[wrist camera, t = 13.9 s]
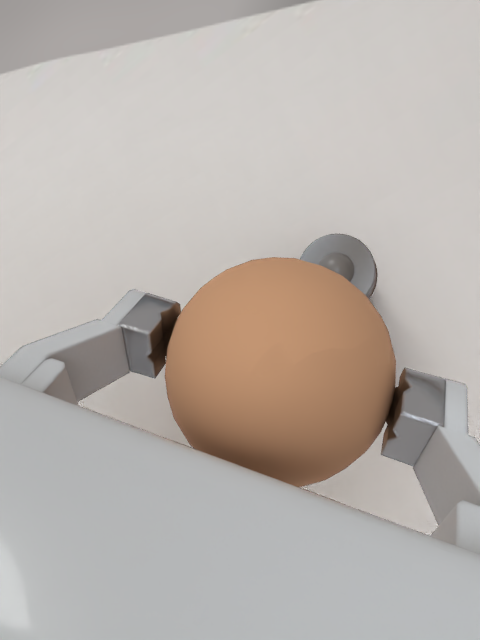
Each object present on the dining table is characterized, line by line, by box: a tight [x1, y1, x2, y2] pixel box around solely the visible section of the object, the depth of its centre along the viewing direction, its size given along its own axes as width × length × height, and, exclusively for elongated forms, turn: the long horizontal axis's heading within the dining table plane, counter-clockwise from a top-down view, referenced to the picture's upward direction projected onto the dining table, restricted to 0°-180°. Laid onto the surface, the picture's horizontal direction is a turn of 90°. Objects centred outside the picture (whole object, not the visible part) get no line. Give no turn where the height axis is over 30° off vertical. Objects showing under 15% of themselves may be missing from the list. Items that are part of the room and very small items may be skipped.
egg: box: [165, 257, 396, 487], centre depth 13 cm, size 7×7×9 cm
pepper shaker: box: [300, 234, 377, 300], centre depth 27 cm, size 5×5×8 cm
